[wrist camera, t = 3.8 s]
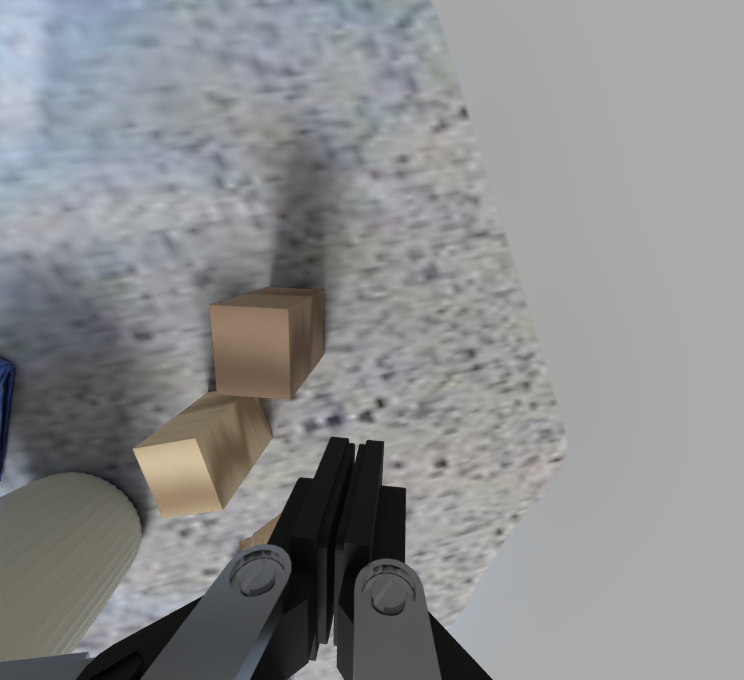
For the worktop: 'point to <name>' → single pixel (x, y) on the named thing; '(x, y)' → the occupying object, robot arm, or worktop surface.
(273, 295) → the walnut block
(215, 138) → the worktop surface
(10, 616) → the canister
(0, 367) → the dish towel
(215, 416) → the oak block
